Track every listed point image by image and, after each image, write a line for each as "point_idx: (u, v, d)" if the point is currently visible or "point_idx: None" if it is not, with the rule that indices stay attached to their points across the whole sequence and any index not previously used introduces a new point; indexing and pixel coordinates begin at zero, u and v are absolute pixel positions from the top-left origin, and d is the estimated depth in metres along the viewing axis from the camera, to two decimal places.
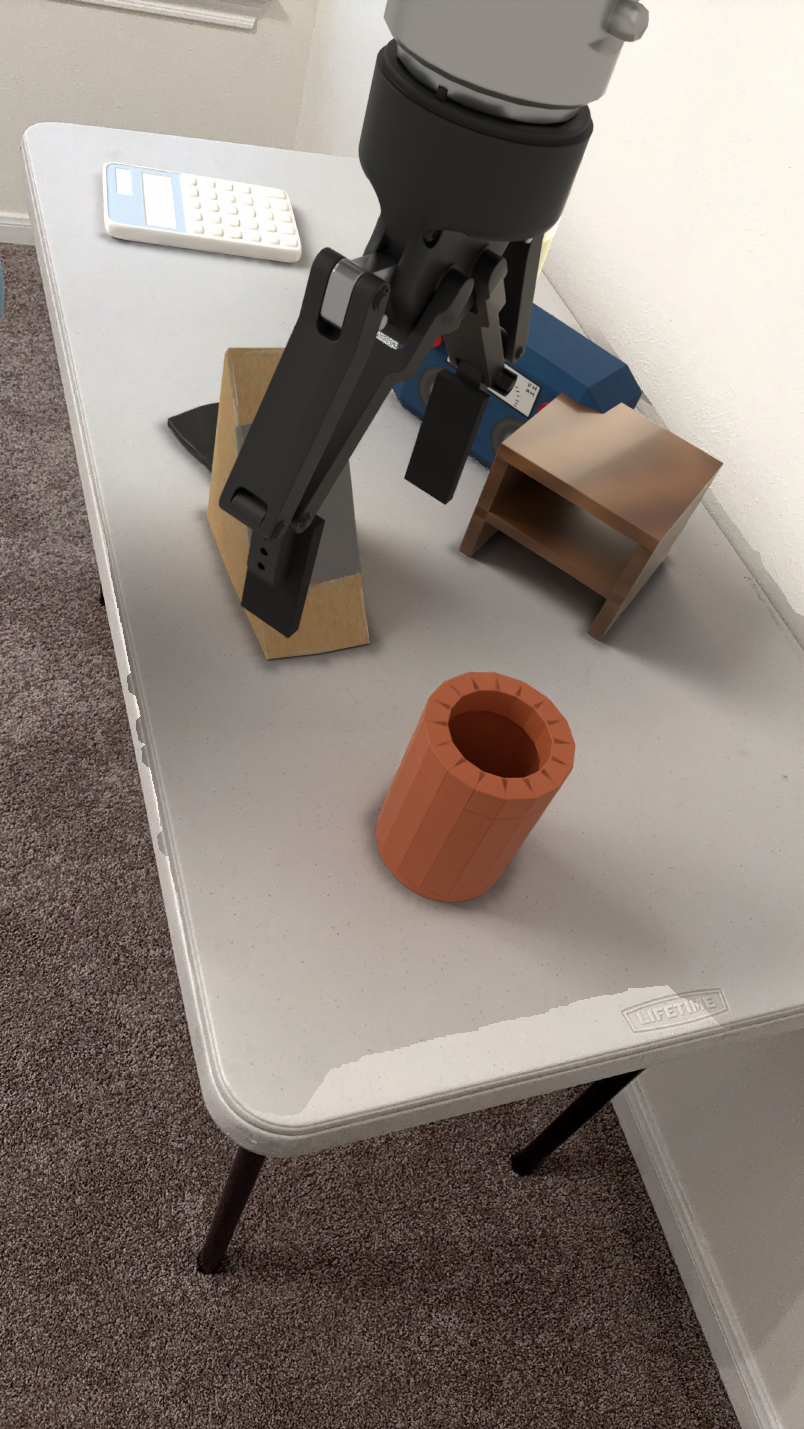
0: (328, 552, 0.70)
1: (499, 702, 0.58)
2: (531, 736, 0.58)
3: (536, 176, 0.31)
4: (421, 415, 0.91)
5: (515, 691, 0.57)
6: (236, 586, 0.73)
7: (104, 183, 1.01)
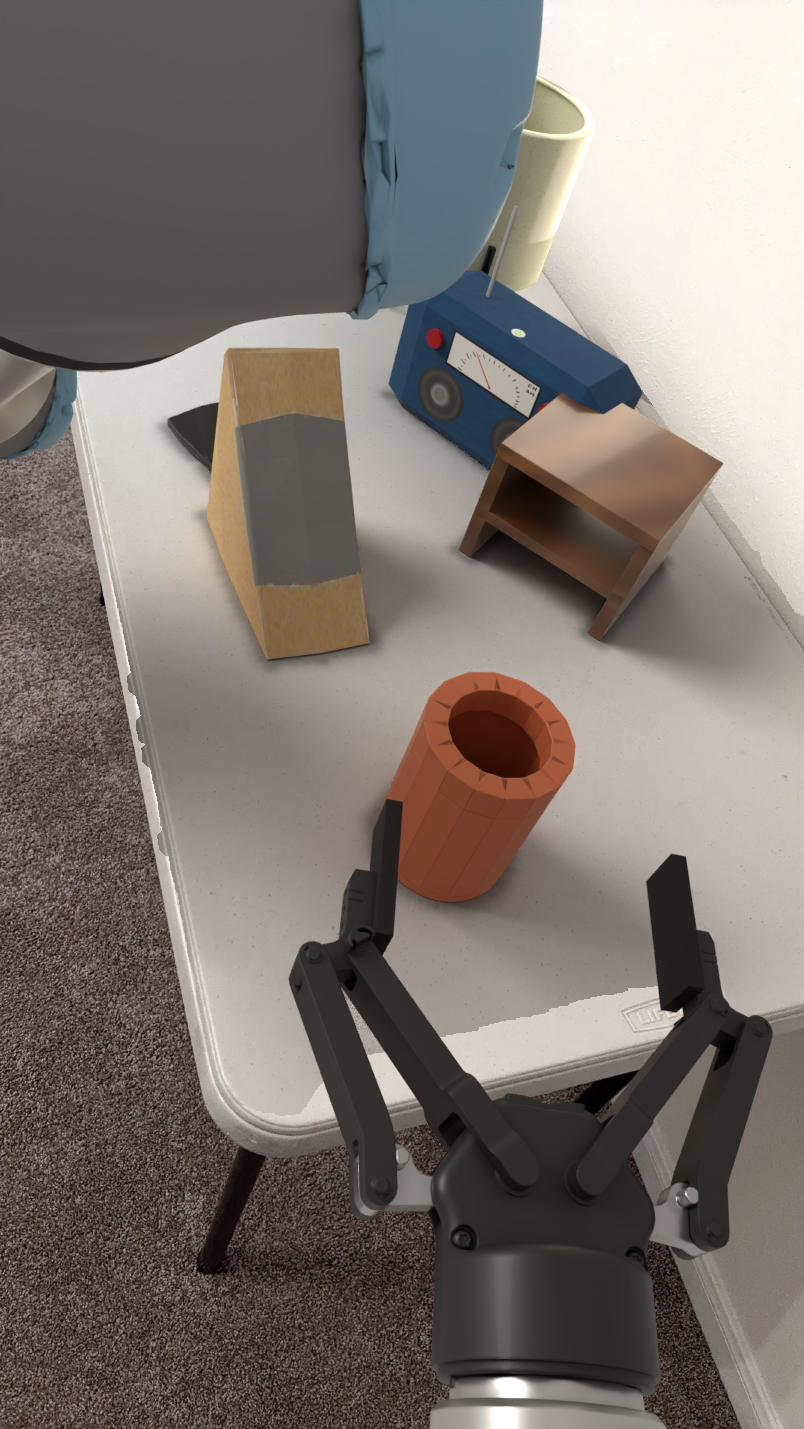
0: (327, 552, 0.70)
1: (499, 702, 0.58)
2: (531, 736, 0.58)
3: None
4: (422, 417, 0.91)
5: (515, 691, 0.57)
6: (236, 586, 0.73)
7: None
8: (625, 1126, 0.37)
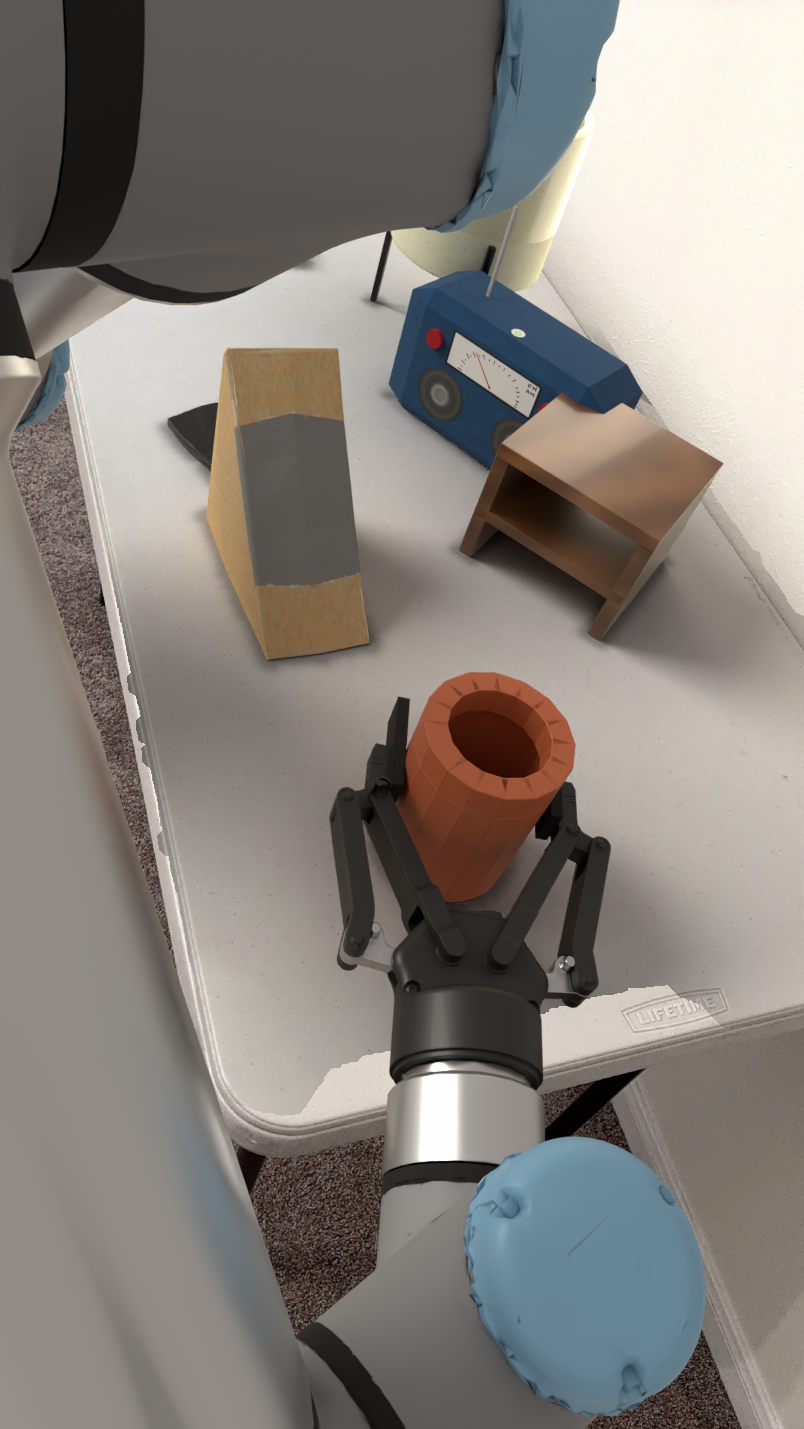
0: (327, 552, 0.70)
1: (499, 702, 0.58)
2: (531, 736, 0.58)
3: None
4: (422, 417, 0.91)
5: (515, 691, 0.57)
6: (236, 586, 0.73)
7: None
8: (520, 918, 0.52)
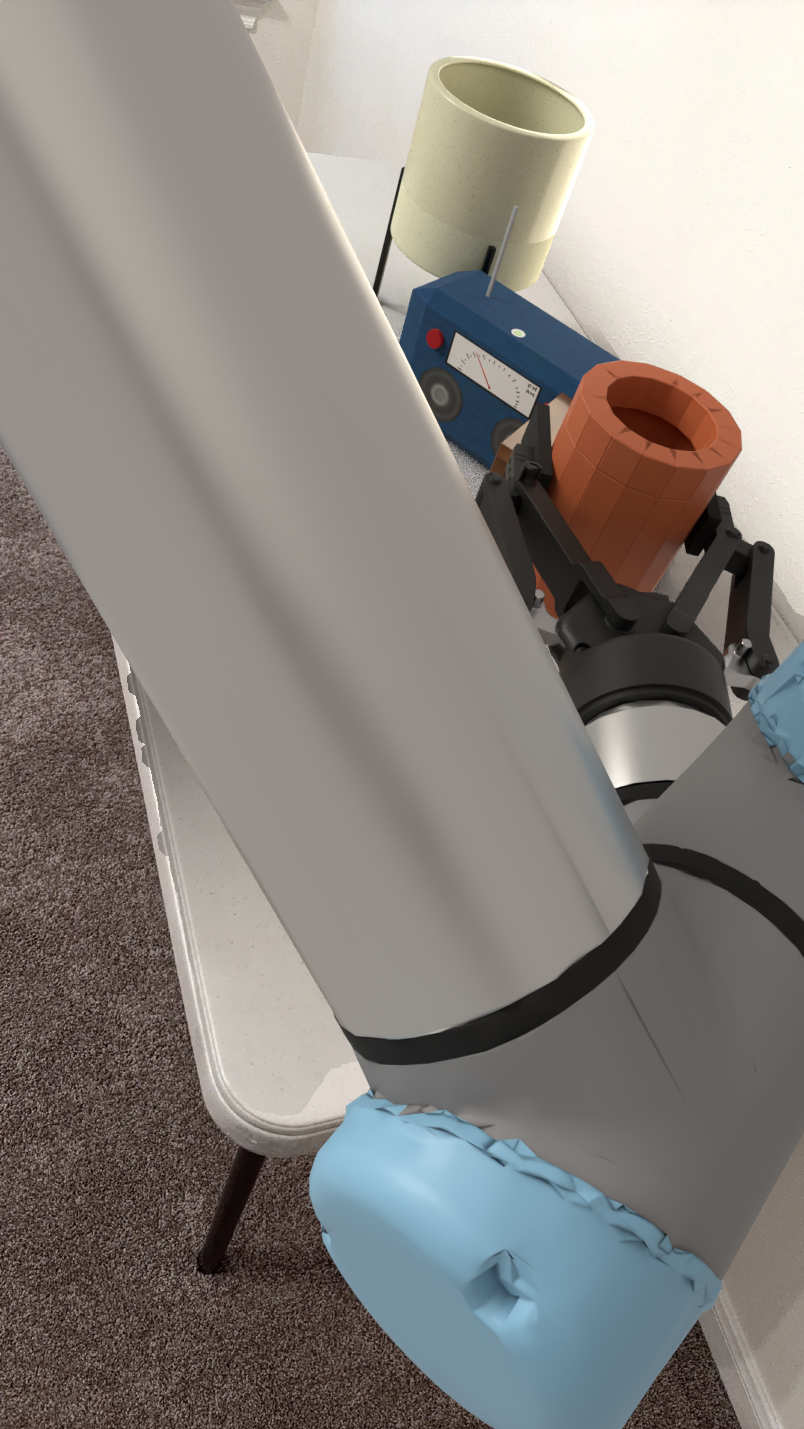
0: None
1: (653, 395, 0.53)
2: (687, 433, 0.53)
3: None
4: None
5: (672, 381, 0.53)
6: None
7: None
8: (691, 597, 0.48)
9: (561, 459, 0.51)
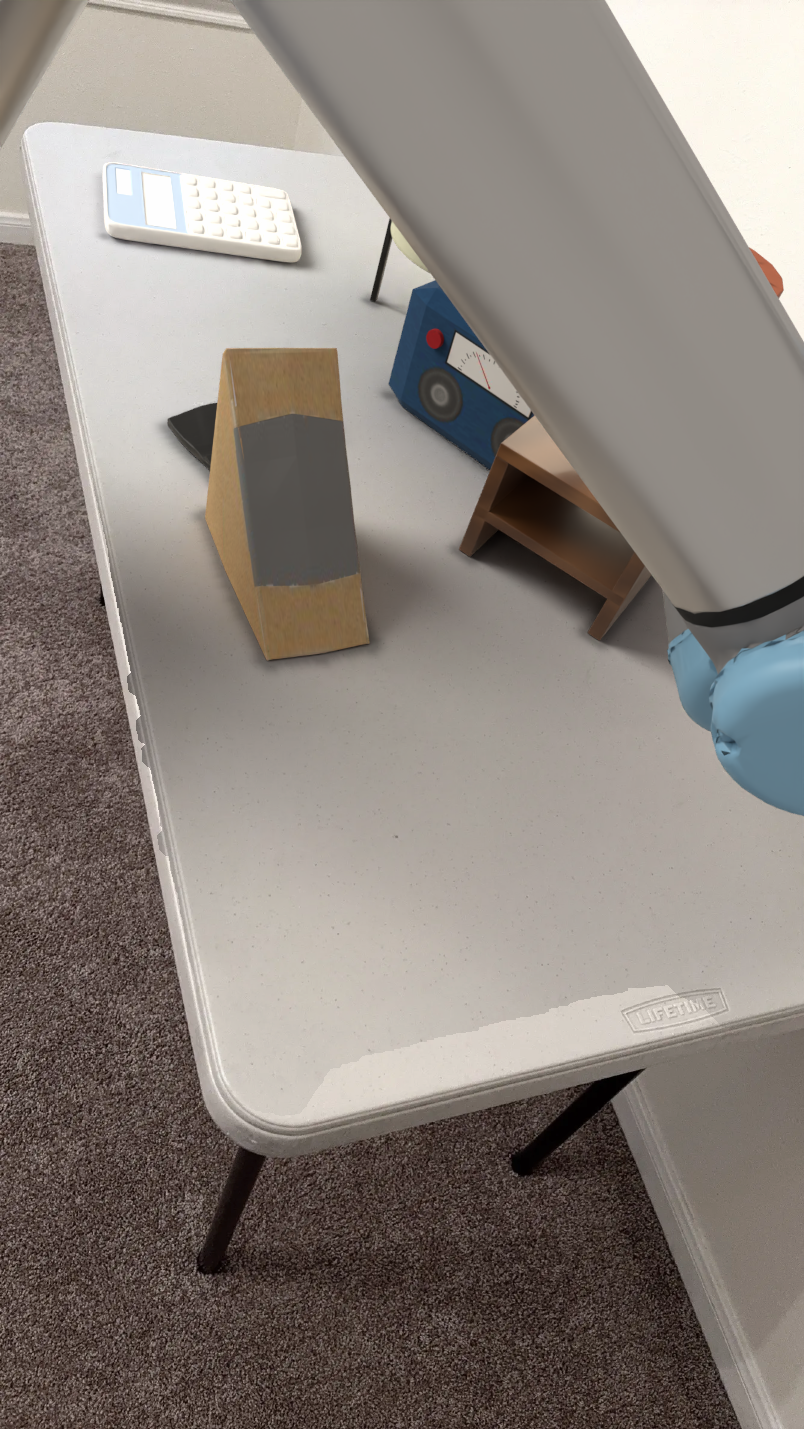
0: (327, 552, 0.70)
1: None
2: None
3: None
4: (422, 417, 0.91)
5: None
6: (235, 587, 0.73)
7: (104, 183, 1.01)
8: None
9: None
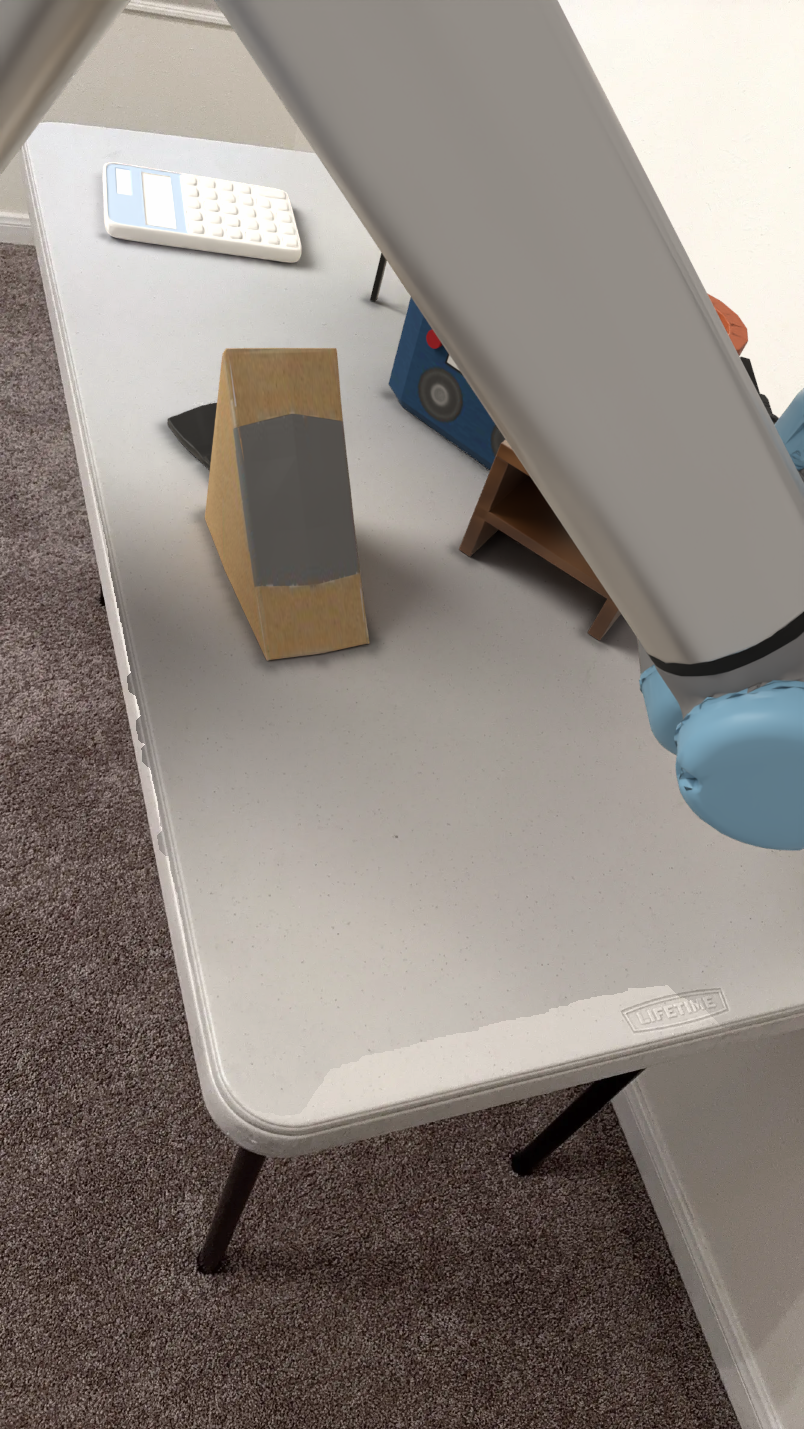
0: (327, 552, 0.70)
1: None
2: None
3: None
4: (422, 417, 0.91)
5: None
6: (235, 587, 0.73)
7: (104, 183, 1.01)
8: None
9: None
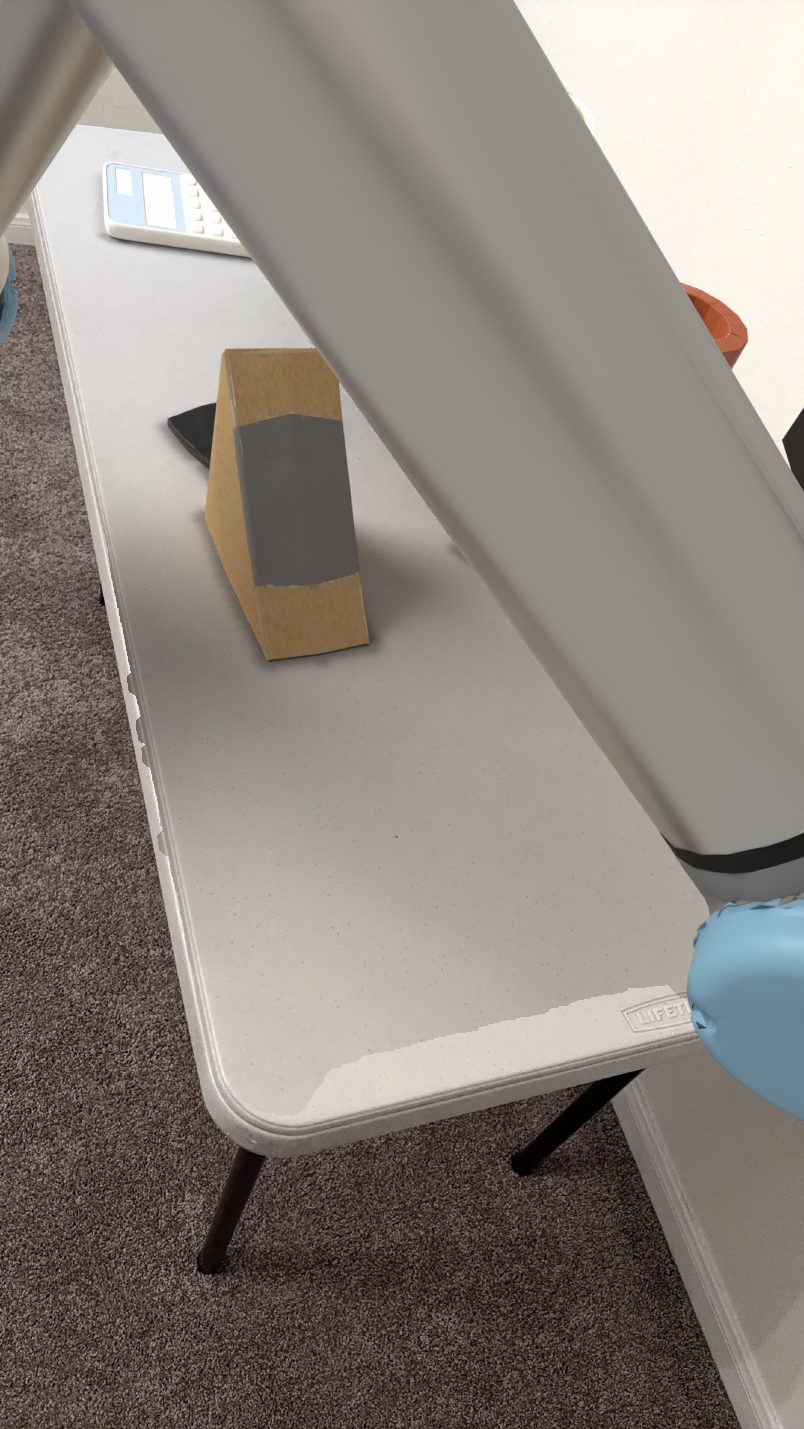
0: (326, 552, 0.70)
1: None
2: None
3: None
4: None
5: (694, 293, 0.70)
6: (235, 587, 0.73)
7: (104, 183, 1.01)
8: None
9: None
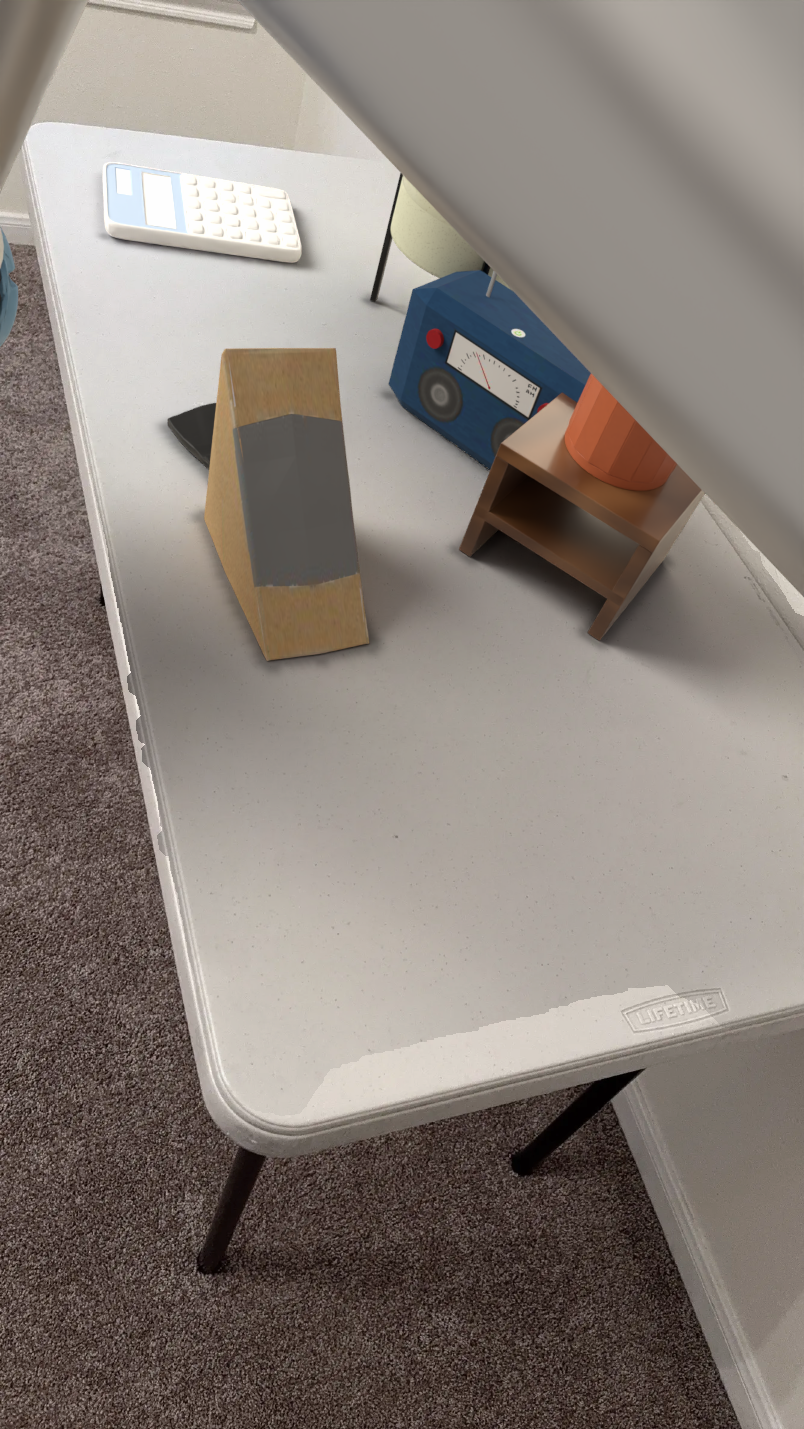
0: (326, 553, 0.70)
1: None
2: None
3: None
4: (422, 417, 0.91)
5: None
6: (235, 587, 0.73)
7: (104, 183, 1.01)
8: None
9: None
